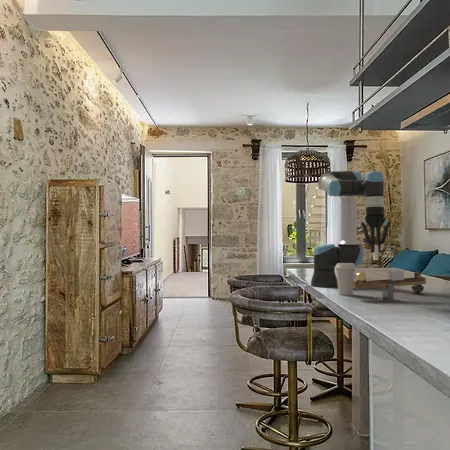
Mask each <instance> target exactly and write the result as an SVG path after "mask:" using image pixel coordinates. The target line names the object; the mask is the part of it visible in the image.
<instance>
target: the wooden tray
mask: <svg viewBox="0 0 450 450" xmlns="http://www.w3.org/2000/svg"><path fill="white" fill-rule="evenodd" d="M426 280H427V279H426V277H424V276H417V277H415V278H414V277H404V280H399V281H389V278H388V279H374V280H366V282H367V283H357V281H355V280H354V281H353V280H352V281H351V287H352V288H353V290H354V289H355V290H357V289H358V290H359V289H369V288H371V289H374V288H382V287H388V283H394V287H403V286H413V285H419V284H421V285H426V284H427V281H426Z"/></svg>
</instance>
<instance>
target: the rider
mask: <svg viewBox="0 0 450 450" xmlns="http://www.w3.org/2000/svg"><path fill="white" fill-rule="evenodd" d="M387 272H388V279H389V281H399V280H404V278H405V274H404V270H402V269H393V270H391V269H390V270H387Z"/></svg>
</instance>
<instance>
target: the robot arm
mask: <svg viewBox="0 0 450 450" xmlns="http://www.w3.org/2000/svg"><path fill="white" fill-rule="evenodd" d="M384 181H385V179H384V173H383V172H382V171H367V172H366V173H365V178H364V179H363V176H362V174H361V172H359V171H356V170H341V171H339V170H337V171H327V172H324V173H323V174H322V175H320V177H319V178H318V181H317V183H318V187H319V189H320V190H321V191H323V192H325V193H326V192H327V194H328V196H329V197H339V198H340V241H339V242H338V243H337V246H336V245H335V244H334V243H329V244H321V245H316V246H315V247H314V248H313V274H312V277H311V280H310V286H312V287H317V288H336V287H337V288H338V282H337V273H336V268H335V266H336V265H337V263H353V264H354V266H355V267H356V268H357V267H359V266H361V265H362V262H363V259H364V248H363V247H362V246H360V242H359V241H358V238H357V237H358V234H357V233H358V227H357V225H358V224H357V221H358V220H357V218H358V215H357V213H358V212H357V211H358V210H357V209H358V204H357V202H358V201H357V200H358V197H365V206H366V208H365V219H364V221H362V222H360V223H359V225H360V226H361V228H362V231H363V234H364V235H363V236H364V239H365V243H366V244H368V245H370V253H372V255H373V256H372V258H373V259H372V261H379V253H381V250H382V249H381V248H382V247H381V246H382V245H384V244H385V243H386V240H387V239H386V238H387V236H388V230H389V227H390V226H391V222H390V221H388V220H386V218H385V207H384V206H385V199H384V194H385V191H384V190H385V189H384V185H385V184H384ZM367 225H368V227H369V232H370V233H369V232H368V228H367ZM382 226H383V230H382V231H381V229H382ZM381 233H382V235H381ZM375 235H376V240H375ZM375 241H376V243H375Z"/></svg>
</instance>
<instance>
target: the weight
mask: <svg viewBox="0 0 450 450" xmlns="http://www.w3.org/2000/svg"><path fill="white" fill-rule="evenodd" d="M355 274H356V277H355V278H356V282H357V283H367V282H366V281H367V274H366V272H355Z"/></svg>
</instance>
